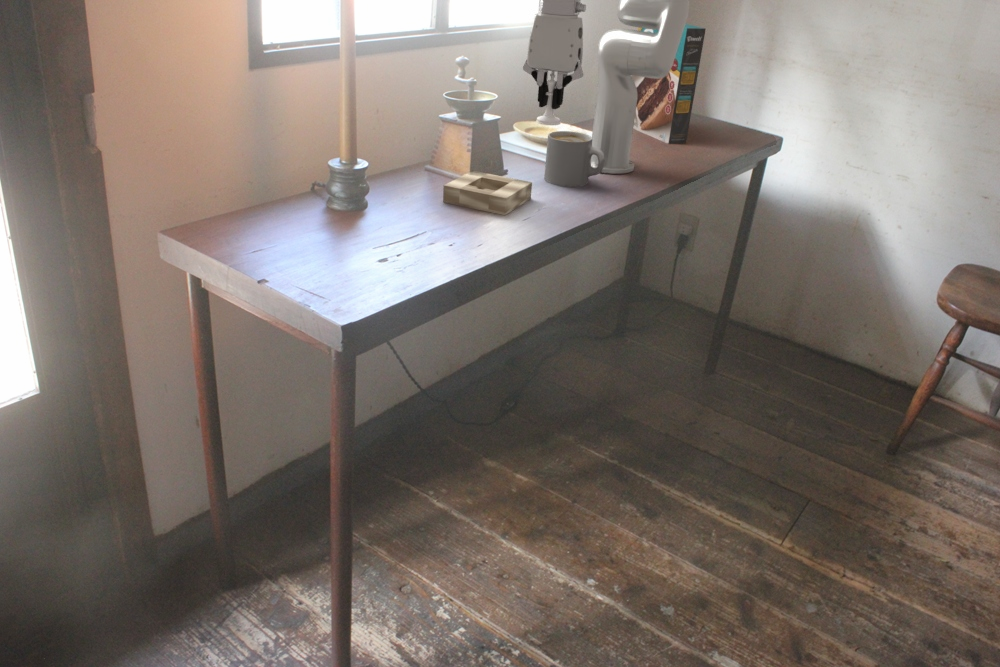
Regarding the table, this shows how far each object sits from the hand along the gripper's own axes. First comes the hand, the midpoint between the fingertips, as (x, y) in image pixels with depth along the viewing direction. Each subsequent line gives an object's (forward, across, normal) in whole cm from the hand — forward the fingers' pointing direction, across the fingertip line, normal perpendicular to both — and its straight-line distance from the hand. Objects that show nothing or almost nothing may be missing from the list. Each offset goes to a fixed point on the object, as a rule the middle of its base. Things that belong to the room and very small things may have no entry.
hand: (549, 106), depth 158 cm
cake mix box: (+19, -6, -76) cm, 79 cm away
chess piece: (+3, 0, 0) cm, 3 cm away
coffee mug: (+19, -1, -17) cm, 26 cm away
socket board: (+19, +9, +7) cm, 23 cm away
